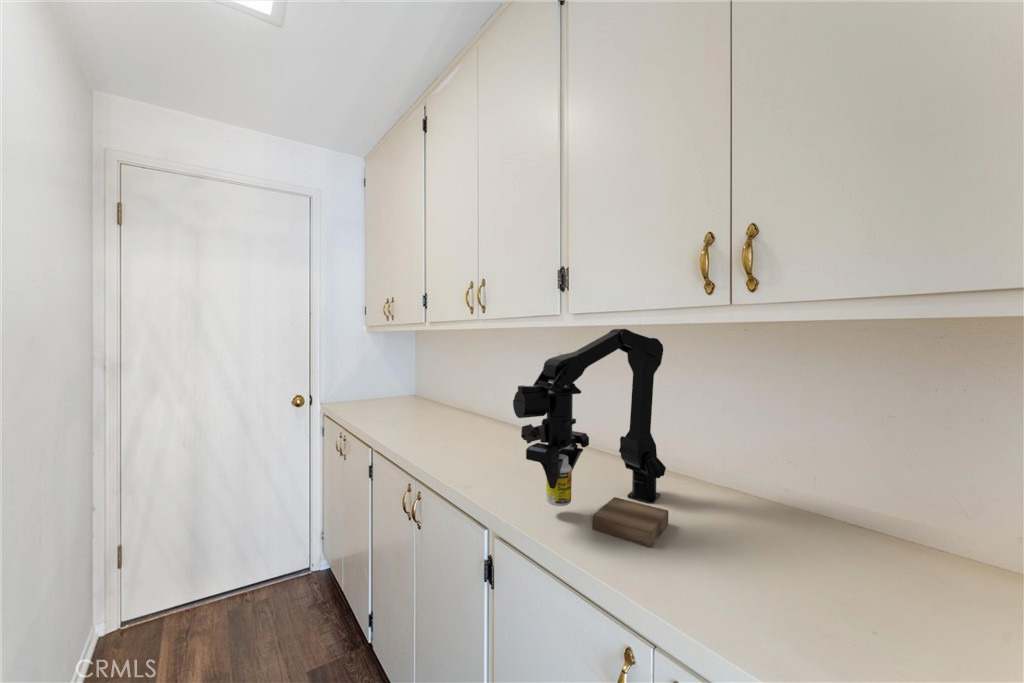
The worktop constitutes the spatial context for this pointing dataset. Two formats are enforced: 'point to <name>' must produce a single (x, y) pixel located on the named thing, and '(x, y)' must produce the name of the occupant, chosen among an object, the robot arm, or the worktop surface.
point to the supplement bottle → (561, 485)
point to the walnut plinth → (630, 521)
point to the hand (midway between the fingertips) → (559, 484)
